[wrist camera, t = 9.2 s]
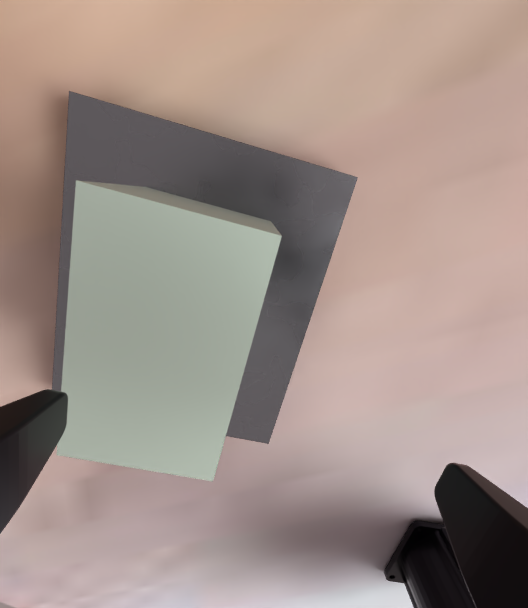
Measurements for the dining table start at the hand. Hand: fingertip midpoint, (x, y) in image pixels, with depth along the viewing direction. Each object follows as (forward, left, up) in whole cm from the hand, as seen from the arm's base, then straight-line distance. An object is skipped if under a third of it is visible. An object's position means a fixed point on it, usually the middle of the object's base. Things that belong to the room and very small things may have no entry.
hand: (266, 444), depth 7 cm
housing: (-1, +4, -10) cm, 10 cm away
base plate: (-1, +4, -11) cm, 12 cm away
